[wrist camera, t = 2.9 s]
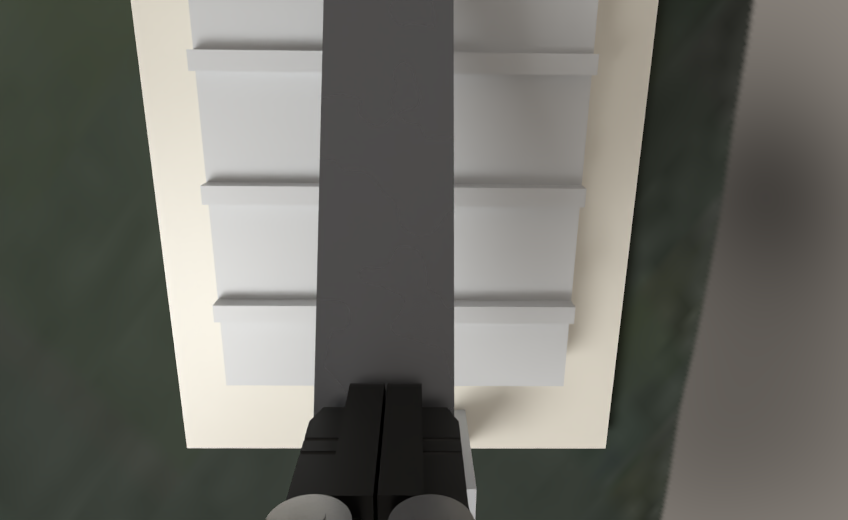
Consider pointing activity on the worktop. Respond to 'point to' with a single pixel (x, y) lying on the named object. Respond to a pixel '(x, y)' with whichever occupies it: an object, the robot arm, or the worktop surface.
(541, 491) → the worktop surface
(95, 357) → the worktop surface
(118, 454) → the worktop surface
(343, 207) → the strap
